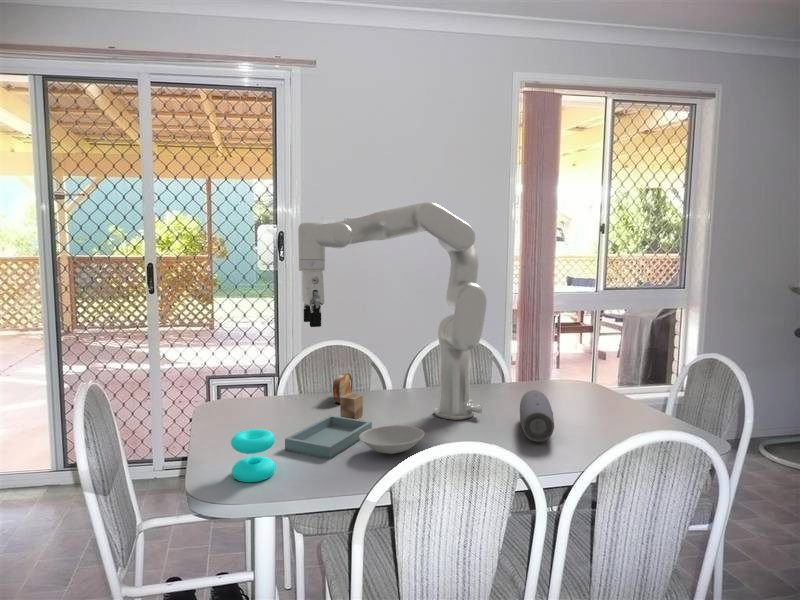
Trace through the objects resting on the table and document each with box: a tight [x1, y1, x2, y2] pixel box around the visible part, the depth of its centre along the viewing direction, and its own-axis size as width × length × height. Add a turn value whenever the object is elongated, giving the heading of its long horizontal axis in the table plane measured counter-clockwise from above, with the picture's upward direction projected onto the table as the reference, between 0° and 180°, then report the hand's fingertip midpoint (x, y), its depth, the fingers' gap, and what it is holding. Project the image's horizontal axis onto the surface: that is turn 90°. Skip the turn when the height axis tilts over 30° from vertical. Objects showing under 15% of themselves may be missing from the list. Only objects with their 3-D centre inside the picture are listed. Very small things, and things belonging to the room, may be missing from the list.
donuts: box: [230, 428, 276, 483], centre depth 137 cm, size 10×10×10 cm
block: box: [339, 393, 364, 420], centre depth 179 cm, size 5×5×7 cm
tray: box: [284, 414, 373, 460], centre depth 160 cm, size 14×22×3 cm, turn 154°
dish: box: [359, 424, 426, 455], centre depth 151 cm, size 18×14×5 cm
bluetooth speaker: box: [519, 389, 555, 442], centre depth 168 cm, size 23×9×10 cm, turn 170°
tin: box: [332, 372, 353, 404], centre depth 199 cm, size 15×3×8 cm, turn 168°
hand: (312, 324), depth 170 cm, fingers open, 9 cm apart
